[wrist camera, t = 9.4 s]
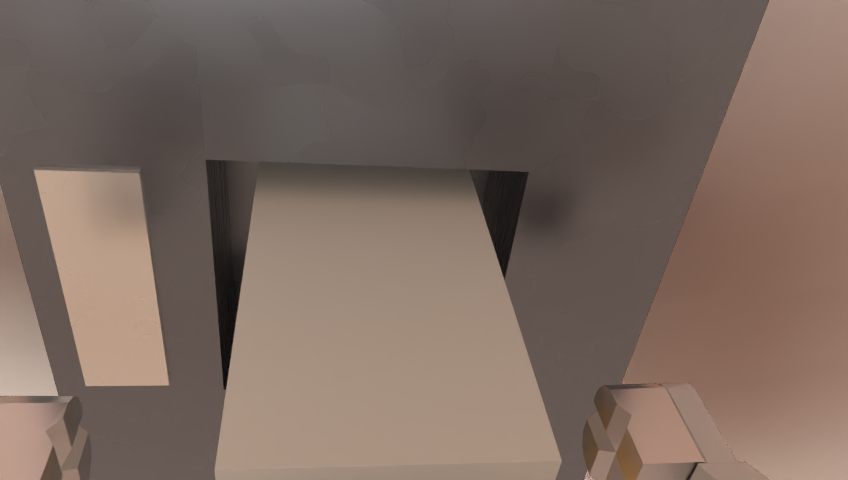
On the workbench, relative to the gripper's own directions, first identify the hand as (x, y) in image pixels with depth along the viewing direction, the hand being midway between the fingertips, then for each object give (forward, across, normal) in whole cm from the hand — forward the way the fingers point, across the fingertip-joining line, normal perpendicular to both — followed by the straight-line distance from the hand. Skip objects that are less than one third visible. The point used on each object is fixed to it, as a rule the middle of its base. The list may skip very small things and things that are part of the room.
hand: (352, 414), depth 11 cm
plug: (+6, 0, 0) cm, 6 cm away
